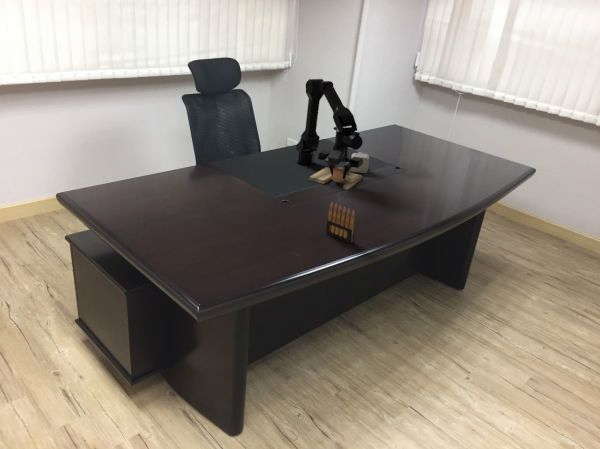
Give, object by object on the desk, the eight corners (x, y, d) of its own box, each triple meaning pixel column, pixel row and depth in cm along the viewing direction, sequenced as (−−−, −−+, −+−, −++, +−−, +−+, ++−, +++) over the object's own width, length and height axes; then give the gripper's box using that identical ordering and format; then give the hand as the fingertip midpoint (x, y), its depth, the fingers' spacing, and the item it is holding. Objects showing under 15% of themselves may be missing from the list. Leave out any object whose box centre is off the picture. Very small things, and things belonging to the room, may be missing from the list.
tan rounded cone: (335, 177, 218) (336, 166, 215) (345, 179, 216) (346, 168, 213) (330, 180, 214) (331, 169, 211) (341, 183, 212) (342, 172, 209)
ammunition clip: (325, 233, 172) (328, 201, 167) (328, 231, 173) (331, 199, 168) (350, 243, 166) (354, 211, 160) (353, 242, 167) (357, 209, 162)
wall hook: (367, 164, 238) (369, 146, 232) (367, 176, 230) (369, 158, 224) (350, 163, 239) (352, 144, 233) (349, 175, 231) (351, 156, 225)
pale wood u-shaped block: (309, 180, 216) (310, 167, 214) (325, 170, 229) (326, 157, 227) (347, 189, 209) (348, 176, 206) (361, 178, 222) (363, 166, 219)
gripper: (313, 142, 205) (310, 178, 212) (355, 151, 197) (350, 188, 204) (324, 136, 214) (322, 171, 221) (365, 145, 206) (361, 180, 213)
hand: (338, 177), depth 214 cm, fingers closed on tan rounded cone, 5 cm apart
